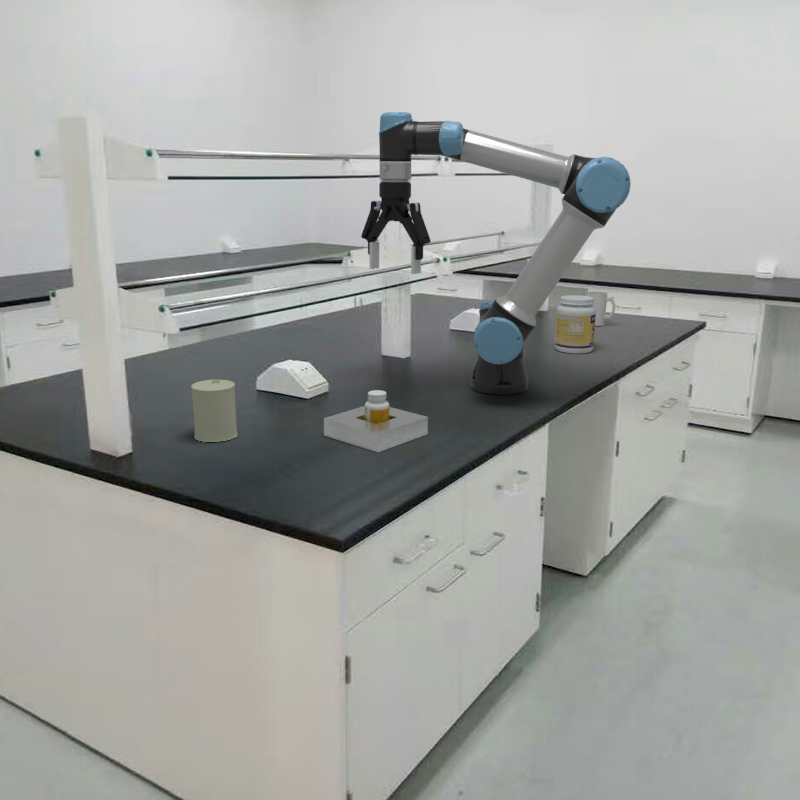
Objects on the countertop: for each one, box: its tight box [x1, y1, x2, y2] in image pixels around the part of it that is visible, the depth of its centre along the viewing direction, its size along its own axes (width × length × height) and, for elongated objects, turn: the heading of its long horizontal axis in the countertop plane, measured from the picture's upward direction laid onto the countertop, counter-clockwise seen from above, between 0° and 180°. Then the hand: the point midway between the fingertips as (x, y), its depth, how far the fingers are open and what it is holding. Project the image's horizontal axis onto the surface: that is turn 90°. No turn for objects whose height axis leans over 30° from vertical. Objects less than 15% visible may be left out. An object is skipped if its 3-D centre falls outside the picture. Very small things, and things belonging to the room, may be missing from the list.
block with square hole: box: [323, 405, 429, 453], centre depth 181 cm, size 16×16×4 cm
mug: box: [587, 290, 616, 326], centre depth 304 cm, size 10×7×12 cm, turn 63°
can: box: [190, 379, 239, 443], centre depth 179 cm, size 9×9×12 cm
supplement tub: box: [554, 294, 596, 355], centre depth 263 cm, size 12×12×17 cm
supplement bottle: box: [364, 389, 390, 424], centre depth 181 cm, size 5×5×10 cm
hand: (394, 271), depth 203 cm, fingers open, 13 cm apart
